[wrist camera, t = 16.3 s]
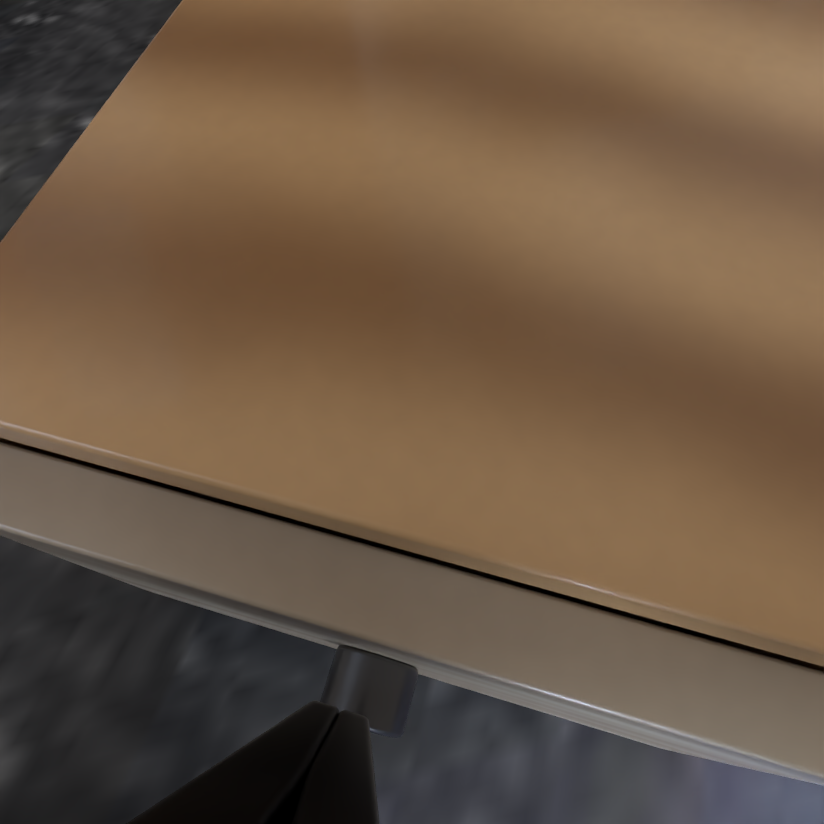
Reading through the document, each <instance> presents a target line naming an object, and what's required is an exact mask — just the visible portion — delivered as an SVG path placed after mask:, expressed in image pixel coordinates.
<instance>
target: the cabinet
mask: <svg viewBox="0 0 824 824" xmlns="http://www.w3.org/2000/svg"><path fill="white" fill-rule="evenodd" d="M0 442H3V443H7V444H10V445H14V446H18V447H21V448H25V449H28V450H32V451H36V452H39V453H43V454H46V455H50V456H53V457H57V458H61V459H64V460H68V461H71V462H75V463H79V464H82V465H86V466H89V467H93V468H96V469H100V470H104V471H107V472H111V473H114V474H118V475H121V476H125V477H129V478H132V479H136V480H139V481H143V482H147V483H150V484H154V485H157V486H161V487H164V488H168V489H172V490H175V491H179V492H182V493H186V494H190V495H193V496H197V495H196V494H194V493H193V492H192V491H194V492H197V493H201V494H205V495H208V496H212V497H215V498H219V499H222V500H226V501H230V502H233V503H237V504H240V505H244V506H248V507H251V508H255V509H258V510H262V511H266V512H269V513H273V514H276V515H280V516H284V517H287V518H291V519H294V520H298V521H302V522H305V523H309V524H312V525H316V526H320V527H323V528H327V529H330V530H334V531H338V532H341V533H345V534H348V535H352V536H356V537H359V538H363V539H366V540H370V541H373V542H377V543H381V544H384V545H388V546H391V547H395V548H399V549H402V550H406V551H409V552H413V553H417V554H420V555H424V556H427V557H431V558H435V559H438V560H442V561H445V562H449V563H453V564H456V565H460V566H463V567H467V568H471V569H474V570H478V571H481V572H485V573H489V574H492V575H496V576H499V577H503V578H507V579H510V580H514V581H517V582H521V583H524V584H528V585H532V586H535V587H539V588H542V589H546V590H550V591H553V592H557V593H560V594H564V595H568V596H571V597H575V598H578V599H582V600H586V601H589V602H593V603H596V604H600V605H604V606H607V607H611V608H614V609H618V610H622V611H625V612H629V613H632V614H636V615H640V616H643V617H647V618H650V619H654V620H657V621H661V622H665V623H667V624H664V625H660V626H662V627H666V628H669V629H673V630H677V631H680V632H684V633H687V634H691V635H695V636H698V637H702V638H705V639H709V640H712V641H716V642H720V643H723V644H727V645H730V646H734V647H737V648H741V649H745V650H748V651H752V652H755V653H759V654H763V655H766V656H770V657H773V658H777V659H780V660H784V661H788V662H791V663H795V664H798V665H802V666H806V667H809V668H813V669H816V670H820V671H823V672H824V0H182V1H181V3H180V4H179V5H178V7H177V8H176V9H175V11H174V12H173V13H172V15H171V16H170V17H169V19H168V20H167V21H166V23H165V24H164V25H163V27H162V28H161V29H160V31H159V32H158V33H157V35H156V36H155V37H154V39H153V40H152V41H151V43H150V44H149V45H148V47H147V48H146V49H145V51H144V52H143V53H142V55H141V56H140V57H139V59H138V60H137V61H136V63H135V64H134V65H133V67H132V68H131V69H130V71H129V72H128V73H127V75H126V76H125V77H124V79H123V80H122V81H121V83H120V84H119V85H118V87H117V88H116V89H115V91H114V92H113V93H112V95H111V96H110V97H109V99H108V100H107V101H106V103H105V104H104V105H103V107H102V108H101V109H100V111H99V112H98V113H97V115H96V116H95V117H94V119H93V120H92V121H91V123H90V124H89V125H88V127H87V128H86V129H85V131H84V132H83V133H82V135H81V136H80V137H79V139H78V140H77V141H76V143H75V144H74V145H73V147H72V148H71V149H70V151H69V152H68V153H67V155H66V156H65V157H64V159H63V160H62V161H61V163H60V164H59V165H58V167H57V168H56V169H55V171H54V172H53V173H52V175H51V176H50V177H49V179H48V180H47V181H46V183H45V184H44V185H43V187H42V188H41V189H40V191H39V192H38V193H37V195H36V196H35V197H34V199H33V200H32V201H31V202H30V204H29V205H28V206H27V208H26V209H25V210H24V212H23V213H22V214H21V216H20V217H19V218H18V220H17V221H16V222H15V224H14V225H13V226H12V228H11V229H10V230H9V232H8V233H7V234H6V236H5V237H4V238H3V240H2V241H1V242H0ZM197 497H198V496H197Z"/></svg>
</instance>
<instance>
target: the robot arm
mask: <svg viewBox="0 0 824 824" xmlns="http://www.w3.org/2000/svg"><path fill="white" fill-rule="evenodd" d="M127 824H380V823H379V814H378V804H377V795H376V785H375V775H374V766H373V756H372V747H371V737H370V727H369V720H368V718H367V717H365V716H363V715H360V714H357V713H354V712H351V711H348V710H343V711H341V712H340V713H339V709H338V708H337V707H335V706H332V705H328V704H325V703H322V702H319V701H312V702H310V703H308V704H307V705H305V706H304V707H302V708H301V709H299V710H298V711H296V712H295V713H293V714H292V715H290V716H288V717H287V718H285V719H284V720H282V721H281V722H279V723H278V724H276V725H275V726H273V727H272V728H270V729H269V730H267V731H266V732H264V733H263V734H261V735H260V736H258V737H257V738H255V739H254V740H252V741H251V742H249V743H248V744H246V745H245V746H243V747H242V748H240V749H239V750H237V751H236V752H234V753H233V754H231V755H229V756H228V757H226V758H225V759H223V760H222V761H220V762H219V763H217V764H216V765H214V766H213V767H211V768H210V769H208V770H207V771H205V772H204V773H202V774H201V775H199V776H198V777H196V778H195V779H193V780H192V781H190V782H189V783H187V784H186V785H184V786H183V787H181V788H180V789H178V790H177V791H175V792H174V793H172V794H170V795H169V796H167V797H166V798H164V799H163V800H161V801H160V802H158V803H157V804H155V805H154V806H152V807H151V808H149V809H148V810H146V811H145V812H143V813H142V814H140V815H139V816H137V817H136V818H134V819H133V820H131V821H130V822H128V823H127Z"/></svg>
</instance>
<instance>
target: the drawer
mask: <svg viewBox="0 0 824 824" xmlns="http://www.w3.org/2000/svg"><path fill="white" fill-rule="evenodd" d="M192 492H193V493H194V494H196V495H197V496H198V497H197V496H193V495H190V494H186V493H182V492H179V491H175V490H172V489H168V488H164V487H161V486H157V485H154V484H150V483H147V482H143V481H139V480H136V479H132V478H129V477H125V476H121V475H118V474H114V473H111V472H107V471H104V470H100V469H96V468H93V467H89V466H86V465H82V464H79V463H75V462H71V461H68V460H64V459H61V458H57V457H53V456H50V455H46V454H43V453H39V452H36V451H32V450H28V449H25V448H21V447H18V446H14V445H10V444H7V443H3V442H0V536H3V537H6V538H8V539H11V540H14V541H16V542H19V543H22V544H24V545H27V546H30V547H32V548H35V549H38V550H40V551H43V552H46V553H48V554H51V555H54V556H56V557H59V558H62V559H64V560H67V561H70V562H72V563H75V564H78V565H80V566H83V567H86V568H88V569H91V570H94V571H96V572H99V573H102V574H104V575H107V576H110V577H112V578H115V579H118V580H120V581H123V582H126V583H128V584H131V585H134V586H136V587H139V588H142V589H144V590H147V591H150V592H153V593H156V594H160V595H163V596H166V597H169V598H173V599H176V600H179V601H182V602H186V603H189V604H192V605H195V606H199V607H202V608H205V609H208V610H212V611H215V612H218V613H221V614H225V615H228V616H231V617H234V618H238V619H241V620H244V621H247V622H251V623H254V624H257V625H260V626H264V627H267V628H270V629H274V630H277V631H280V632H283V633H287V634H290V635H293V636H296V637H300V638H303V639H306V640H309V641H313V642H316V643H319V644H322V645H326V646H329V647H332V648H335V649H336V652H335V655H334V659H333V662H332V665H331V668H330V671H329V675H328V678H327V681H326V684H325V687H324V691H323V694H322V697H321V700H320V702H322V703H325V704H328V705H332V706H335V707H337V708H338V709H339V713H340V712H341V711H343V710H348V711H351V712H354V713H357V714H360V715H363V716H365V717H367V718H368V720H369V727H370V732H372V733H375V734H379V735H383V736H387V737H392V738H398V737H401V736H402V735H403V733H404V729H405V725H406V721H407V717H408V713H409V709H410V705H411V701H412V697H413V693H414V689H415V685H416V681H417V677H418V674H420V675H423V676H427V677H430V678H433V679H436V680H440V681H443V682H446V683H449V684H453V685H456V686H459V687H462V688H466V689H469V690H472V691H475V692H479V693H482V694H485V695H488V696H492V697H495V698H498V699H501V700H505V701H508V702H511V703H515V704H518V705H521V706H524V707H528V708H531V709H534V710H537V711H541V712H544V713H547V714H550V715H554V716H557V717H560V718H563V719H567V720H570V721H573V722H576V723H580V724H583V725H586V726H589V727H593V728H596V729H599V730H602V731H606V732H609V733H612V734H615V735H619V736H622V737H625V738H628V739H632V740H635V741H638V742H642V743H645V744H648V745H651V746H655V747H658V748H661V749H665V750H669V751H674V752H678V753H682V754H687V755H691V756H696V757H700V758H704V759H709V760H713V761H718V762H722V763H726V764H731V765H735V766H740V767H744V768H748V769H753V770H757V771H761V772H766V773H770V774H775V775H779V776H783V777H788V778H792V779H797V780H801V781H805V782H810V783H814V784H819V785H823V786H824V672H823V671H820V670H816V669H813V668H809V667H806V666H802V665H798V664H795V663H791V662H788V661H784V660H780V659H777V658H773V657H770V656H766V655H763V654H759V653H755V652H752V651H748V650H745V649H741V648H737V647H734V646H730V645H727V644H723V643H720V642H716V641H712V640H709V639H705V638H702V637H698V636H695V635H691V634H687V633H684V632H680V631H677V630H673V629H669V628H666V627H662V626H660V625H664V624H667V623H665V622H661V621H657V620H654V619H650V618H647V617H643V616H640V615H636V614H632V613H629V612H625V611H622V610H618V609H614V608H611V607H607V606H604V605H600V604H596V603H593V602H589V601H586V600H582V599H578V598H575V597H571V596H568V595H564V594H560V593H557V592H553V591H550V590H546V589H542V588H539V587H535V586H532V585H528V584H524V583H521V582H517V581H514V580H510V579H507V578H503V577H499V576H496V575H492V574H489V573H485V572H481V571H478V570H474V569H471V568H467V567H463V566H460V565H456V564H453V563H449V562H445V561H442V560H438V559H435V558H431V557H427V556H424V555H420V554H417V553H413V552H409V551H406V550H402V549H399V548H395V547H391V546H388V545H384V544H381V543H377V542H373V541H370V540H366V539H363V538H359V537H356V536H352V535H348V534H345V533H341V532H338V531H334V530H330V529H327V528H323V527H320V526H316V525H312V524H309V523H305V522H302V521H298V520H294V519H291V518H287V517H284V516H280V515H276V514H273V513H269V512H266V511H262V510H258V509H255V508H251V507H248V506H244V505H240V504H237V503H233V502H230V501H226V500H222V499H219V498H215V497H212V496H208V495H205V494H201V493H197V492H194V491H192Z"/></svg>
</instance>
